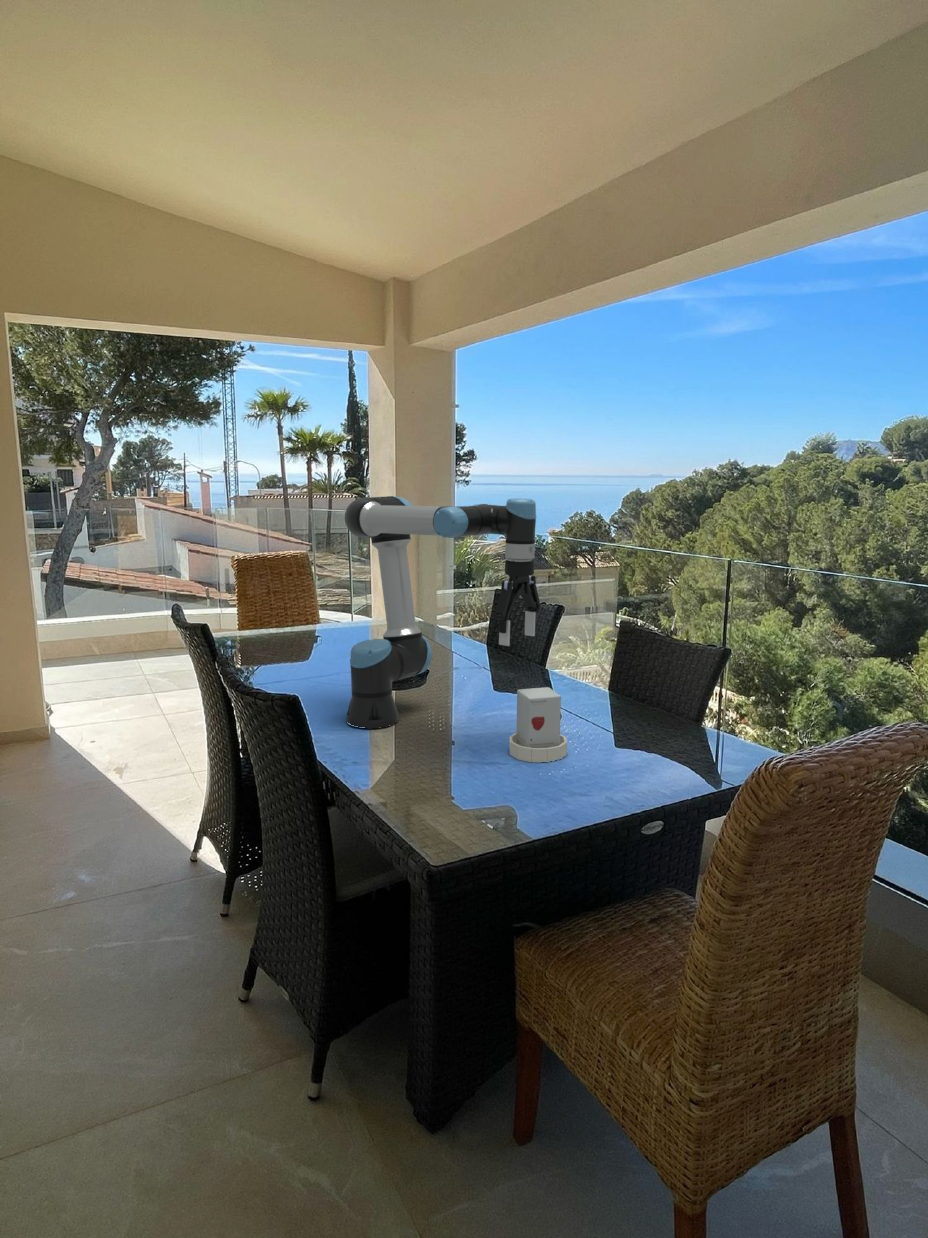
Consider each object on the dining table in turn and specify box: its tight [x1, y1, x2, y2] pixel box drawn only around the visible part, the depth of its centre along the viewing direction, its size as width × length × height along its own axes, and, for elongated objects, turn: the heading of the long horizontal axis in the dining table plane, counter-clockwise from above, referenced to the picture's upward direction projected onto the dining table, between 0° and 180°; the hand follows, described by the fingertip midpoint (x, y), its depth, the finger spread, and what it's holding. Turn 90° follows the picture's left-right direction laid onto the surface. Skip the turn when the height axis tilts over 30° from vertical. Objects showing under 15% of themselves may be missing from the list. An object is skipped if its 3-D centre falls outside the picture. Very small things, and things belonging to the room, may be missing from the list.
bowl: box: [508, 732, 568, 763], centre depth 198 cm, size 15×15×4 cm
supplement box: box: [515, 686, 562, 748], centre depth 197 cm, size 9×9×15 cm
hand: (517, 640), depth 202 cm, fingers open, 13 cm apart
